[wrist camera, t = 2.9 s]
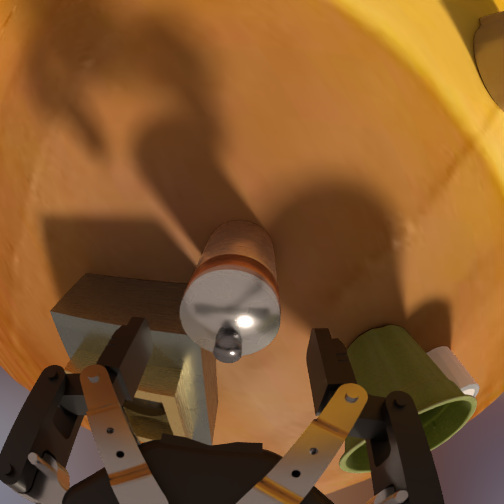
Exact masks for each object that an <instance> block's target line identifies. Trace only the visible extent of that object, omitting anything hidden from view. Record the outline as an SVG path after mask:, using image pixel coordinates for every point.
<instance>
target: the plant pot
mask: <svg viewBox="0 0 504 504" xmlns="http://www.w3.org/2000/svg"><path fill="white" fill-rule="evenodd" d="M347 355H348V357H349V361H350V363H351V366H352V369H353V372H354V375H355V378H356V381H357V384H358V385H360V386H361V387H363V388H364V389H365V390H366V392H367V394H369V395H373V396H379V397H387V395H388V394H389V393H391V392H393V391H403V392H406V393H407V394H409V395H410V396H411V397H412V399H413V401H414V403H415V406H416V409H417V412H418V414H419V417H420V420H421V423H422V426H423V429H424V432H425V435H426V438H427V441H428V444H429V447H430V451H431V450H433V449H435V448H436V447H438V446H439V445H441V444H442V443H444V442H445V441H447V440H448V439H449V438H451V437H452V436H453V435H454V434H455V433H456V432H458V431H459V430H460V429H461V428H462V427H463V426H464V425H465V424H466V422H467V421H468V420H469V419H470V418H471V416H472V415H473V413H474V411H475V409H476V405H477V400H476V398H475V397H473V396H472V395H468V394H464V393H463V392H462V391H461V390H460V389H459V387H458V386H457V385H456V384H455V383H454V382H453V381H451V380H449V379H448V378H447V377H446V376H445V375H444V373H443V372H442V371H441V370H440V369H439V367H438V366H437V365H436V364H435V363H434V362H433V360H432V359H431V358H430V357H429V356H428V355H427V354H426V352H425V351H424V350H423V349H422V348H421V347H420V346H419V344H418V343H417V342H416V341H415V340H414V339H413V338H412V337H411V336H410V334H409V333H408V332H407V331H406V330H405V329H404V328H402V327H400V326H396V325H387V326H385V327H382V328H377V329H371V330H369V331H367V332H366V333H364V334H362V335H361V336H359V337H358V338H357V339H356V340H355V341H354V342H353V343H352V344H351V345H350V346H349V348H348V349H347ZM339 466H340V468H341V469H342V470H344V471H346V472H350V473H366V472H371V470H370V464H369V458H368V452H367V447H366V441H365V439H364V438H357V437H351V436H347V437H346V439H345V453H344V454H343V455H342V457H341V458H340V461H339Z"/></svg>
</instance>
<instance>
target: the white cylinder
mask: <svg viewBox="0 0 504 504" xmlns="http://www.w3.org/2000/svg"><path fill="white" fill-rule="evenodd" d="M426 354H427V355H428V356H429V357H430V358H431V359H432V360H433V362H434V363H435V364H436V365H437V366H438V367H439V369H440V370H441V371H442V372H443V373H444V375H445V376H446V377H447V378H448V379H449V380H451V381H453V382H454V383H455V384H456V385H457V386H458V387H459V389H460V390H461V391H462V392H463V393H464V394H468V395H472V396H473V397H475V396H476V395H477V393H478V391H479V385H478V384H477V383H476V381H475V380H474V379H473V377H472V376H471V375H470V374H469V372H468V371H467V370H466V368H465V367H464V366H463V365H462V363H461V362H460V361H459V360H458V358H457V357H456V356H455V355H454V353H453V352H452V351H451V350H450V349H449V348H448V347H446V346H441V347H437V348H434V349H433V350H431V351H429V352H427V353H426Z"/></svg>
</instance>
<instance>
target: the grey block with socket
mask: <svg viewBox="0 0 504 504" xmlns="http://www.w3.org/2000/svg"><path fill="white" fill-rule="evenodd" d="M187 285H188V284H182V283H171V282H160V281H149V280H139V279H129V278H120V277H111V276H102V275H93V274H85V275H84V276H83V277H82V278H81V279H80V280H79V281H78V282H77V283H76V284H75V285H74V286H73V287H72V288H71V289H70V290H69V291H68V292H67V293H66V294H65V295H64V296H63V298H62V299H61V300H60V301H59V302H58V303H57V304H56V305H55V306H54V307H53V308H52V309H51V311H50V312H51V315H52V317H53V320H54V323H55V325H56V328H57V330H58V333H59V335H60V337H61V340H62V342H63V344H64V347H65V349H66V351H67V353H68V355H69V357H70V361H69V363H68V364H67V366H66V367H65V369H64V371H65V373H66V374H72V373H81V372H82V370H83V369H84V368H86V367H88V366H90V365H95V364H96V363H97V361H98V359H99V357H100V356H101V354H102V352H103V351H104V349H105V347H106V345H108V342H109V340H110V339H111V337H112V335H113V334H114V332H115V331H116V330H117V329H118V328H119V327H121V326H122V325H126V326H127V324H128V322H129V321H130V319H131V318H132V317H142V318H147V319H148V322H149V326H150V331H151V336H152V340H153V350H152V353H151V356H150V358H149V361H148V363H147V366H146V368H145V371H144V373H143V376H142V378H141V381H140V383H139V386H138V388H137V391H136V393H135V396H134V399H133V401H130V400H126V399H125V400H124V403H123V407H124V409H125V411H126V414H127V416H128V418H129V420H130V423H131V425H132V427H133V429H134V431H135V433H136V435H137V437H138V439H139V441H142V442H148V441H152V440H158V439H161V436H162V433H164V434H169V435H175V436H182V437H187V438H190V439H192V440H195V441H198V442H201V443H204V444H207V445H212V443H213V435H214V428H215V421H216V413H217V406H218V394H217V376H216V358H215V356H214V354H213V352H210V351H208V350H206V349H204V348H202V347H200V346H199V345H197V344H196V343H195V342H194V341H193V340H192V339H191V338H190V337H189V336H188V335H187V333H186V332H185V330H184V329H183V327H182V324H181V321H180V305H181V302H182V298H183V295H184V292H185V290H186V288H187Z"/></svg>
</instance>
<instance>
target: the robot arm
mask: <svg viewBox="0 0 504 504" xmlns="http://www.w3.org/2000/svg"><path fill="white" fill-rule="evenodd" d="M480 23H481V26H480V27H479V29H478V30H477V31H476V34H475V37H474V53H475V58H476V63H477V66H478V69H479V72H480V75H481V77H482V80H483V82H484V85H485V86H486V88H487V90H488V92H489V94H490V95H491V97H492V98H493V100H494V101H495V103H496V104H497V105H498V106H499V107H500V108H501V109H502V110H503V111H504V11H502V12H498V13H495V14H491V15H488V16H484V17H481V18H480ZM152 350H153V340H152V336H151V331H150V326H149V322H148V319H147V318H142V317H132V318H131V319H130V321H129V322H128V324H127V326H126V325H122V326H121V327H119V328H118V329H117V330H116V331H115V332H114V334H113V335H112V337H111V339H110V340H109V342H108V345H106V347H105V349H104V351H103V352H102V354H101V356H100V357H99V359H98V361H97V363H96V364H95V365H90V366H88V367H86V368H84V369H83V370H82V372H81V373H72V374H66V373H65V371H64V369H63V368H62V367H61V366H58V365H52V366H49V367H47V368H45V369H44V370H43V372H42V373H41V375H40V376H39V378H38V380H37V382H36V383H35V385H34V387H33V389H32V390H31V392H30V394H29V396H28V398H27V400H26V402H25V403H24V405H23V407H22V409H21V411H20V413H19V415H18V417H17V419H16V421H15V423H14V425H13V427H12V429H11V431H10V433H9V435H8V437H7V440H6V442H5V444H4V446H3V449H2V451H1V454H0V480H1V481H2V482H3V483H5V484H6V485H8V486H9V487H10V488H12V489H13V490H14V491H15V492H17V493H18V494H20V495H22V496H23V497H25V498H26V499H28V500H30V501H31V502H34V503H36V504H334V503H333V502H332V501H331V500H329V499H328V498H327V497H326V496H325V495H324V494H323V493H321V492H320V491H319V490H318V489H317V488H316V487H315V486H314V485H315V483H316V482H317V481H318V479H319V478H320V476H321V475H322V474H323V472H324V471H325V469H326V468H327V467H328V465H329V464H330V462H331V461H332V459H333V458H334V456H335V455H336V453H337V452H338V450H339V449H340V447H341V446H342V444H343V442H344V441H345V439H346V437H347V436H351V437H357V438H364V439H365V441H366V447H367V452H368V458H369V464H370V470H371V476H372V482H373V489H374V497H372V498H371V499H370V500H368V502H367V503H366V504H444V499H443V495H442V491H441V487H440V483H439V479H438V475H437V471H436V468H435V464H434V461H433V457H432V454H431V451H430V447H429V444H428V441H427V438H426V435H425V432H424V429H423V426H422V423H421V420H420V417H419V414H418V412H417V409H416V406H415V403H414V401H413V399H412V397H411V396H410V395H409V394H407V393H406V392H403V391H393V392H391V393H389V394H388V395H387V397H379V396H373V395H369V394H367V392H366V390H365V389H364V388H363V387H361V386H360V385H358V384H357V381H356V378H355V375H354V372H353V369H352V366H351V363H350V361H349V357H348V355H347V351H346V349H345V346H344V344H343V343H342V342H341V341H340V340H339V339H338V338H337V339H331V335H330V332H329V329H328V328H313V329H312V331H311V336H310V340H309V345H308V349H307V357H306V360H307V367H308V373H309V379H310V384H311V390H312V396H313V402H314V408H315V414H316V416H318V415H319V416H318V418H317V419H314V420H313V421H312V422H311V424H310V425H309V426H308V427H307V429H306V430H305V431H304V432H303V434H302V435H301V436H300V437H299V439H298V440H297V441H296V442H295V444H294V445H293V446H292V447H291V448H290V450H289V451H288V452H287V453H286V454H285V455H284V457H282V456H280V455H278V454H276V453H274V452H271V451H268V450H264V449H262V443H245V442H235V443H228V444H220V445H207V444H204V443H201V442H198V441H195V440H192V439H190V438H187V437H182V436H175V435H169V434H164V433H162V436H161V439H158V440H152V441H148V442H145V443H142V444H141V443H140V441H139V439H138V437H137V435H136V433H135V431H134V429H133V427H132V425H131V423H130V420H129V418H128V416H127V414H126V411H125V409H124V407H123V403H124V400H125V399H126V400H130V401H133V399H134V396H135V393H136V391H137V388H138V386H139V383H140V381H141V378H142V376H143V373H144V371H145V368H146V366H147V363H148V361H149V358H150V356H151V353H152ZM84 415H87V418H88V421H89V424H90V428H91V431H92V434H93V437H94V440H95V442H96V445H97V448H98V451H99V453H100V456H101V459H102V461H103V463H104V466H105V467H104V468H102V469H101V470H99V471H97V472H96V473H94V474H92V475H91V476H89V477H87V478H86V479H84V480H82V481H80V482H79V483H77V484H75V485H73V486H72V487H71V488H69V486H70V482H69V474H68V472H67V470H66V469H65V468H66V465H67V462H68V459H69V456H70V453H71V450H72V447H73V444H74V441H75V439H76V436H77V433H78V430H79V428H80V425H81V422H82V420H83V417H84Z"/></svg>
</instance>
